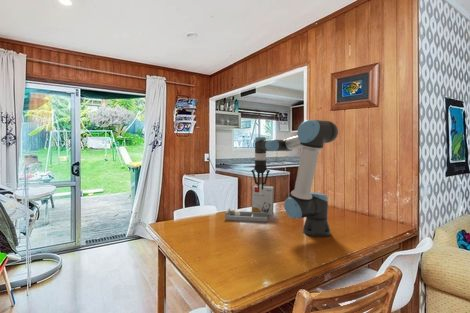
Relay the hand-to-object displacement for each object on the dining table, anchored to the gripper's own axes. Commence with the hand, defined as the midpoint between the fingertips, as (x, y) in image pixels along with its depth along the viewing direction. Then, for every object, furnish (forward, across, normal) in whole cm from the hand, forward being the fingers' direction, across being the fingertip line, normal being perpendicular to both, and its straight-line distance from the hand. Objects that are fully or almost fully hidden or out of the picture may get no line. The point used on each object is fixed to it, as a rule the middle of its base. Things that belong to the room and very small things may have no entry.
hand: (260, 194), depth 175 cm
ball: (+14, +16, -2) cm, 22 cm away
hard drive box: (+17, -1, -18) cm, 25 cm away
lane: (+17, +9, -1) cm, 20 cm away
